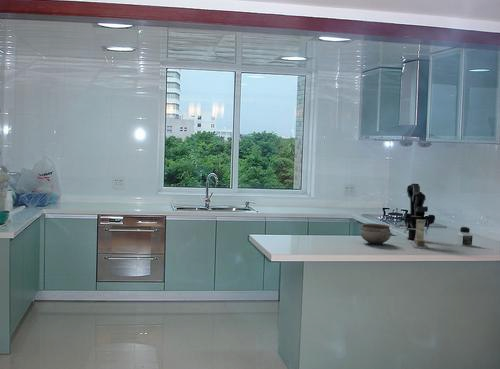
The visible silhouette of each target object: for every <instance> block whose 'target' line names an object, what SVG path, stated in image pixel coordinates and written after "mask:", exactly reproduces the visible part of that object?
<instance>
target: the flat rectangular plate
mask: <svg viewBox="0 0 500 369" xmlns="http://www.w3.org/2000/svg"><path fill="white" fill-rule="evenodd" d="M409 244H410V245H411V247H413V249H421V248H422V249H424V250H425V249H427V250H428V249H430V247H429V246H428V245H427V244H426V243H425V241H422V240H416V239H415V238H414V240H413V241H409ZM422 249H421V250H422Z"/></svg>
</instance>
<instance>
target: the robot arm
mask: <svg viewBox="0 0 500 369" xmlns="http://www.w3.org/2000/svg"><path fill="white" fill-rule="evenodd" d="M406 193H407V197H408V198H409V203H410V204H409V208H410V209H409V210H410V213H408V212H407V213H405V214H404V218H403V219H404V220H403V221H404V222H406V231H408V237H406V238H407V240H408V241H409V240H410V241H412V240H413V241H414V238H415V236H416V219H422V220H425V221H427V223H426V229H427V230H429V227H430V225H432V224H434V223H435V220H436V215H434V214H428V215H427V216H426V215H425V214H426V213H427V212H428V211H429V208H428V206H426V205H425V206H424V204H425V201H426V199H427V198H426V194H424V193H423V192H422V191H421V186H420V184H419V183H411V184H410V185H408V186H407V188H406ZM425 212H426V213H425Z"/></svg>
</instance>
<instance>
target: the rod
mask: <svg viewBox="0 0 500 369" xmlns="http://www.w3.org/2000/svg"><path fill="white" fill-rule="evenodd" d="M425 221H426V220H422V219H416V236H415V239H416V240H422V241H424V238H425V237H424V236H425V223H426V222H425ZM424 242H425V241H424Z"/></svg>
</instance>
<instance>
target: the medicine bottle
mask: <svg viewBox="0 0 500 369" xmlns="http://www.w3.org/2000/svg"><path fill="white" fill-rule="evenodd" d="M470 233H471V228H470V227H467V226H461V227H460V230H459V233H456V235H457V236H456V245H459V246H463V247H471V246H472V247H473V237H474V236H473V234H470Z"/></svg>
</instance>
